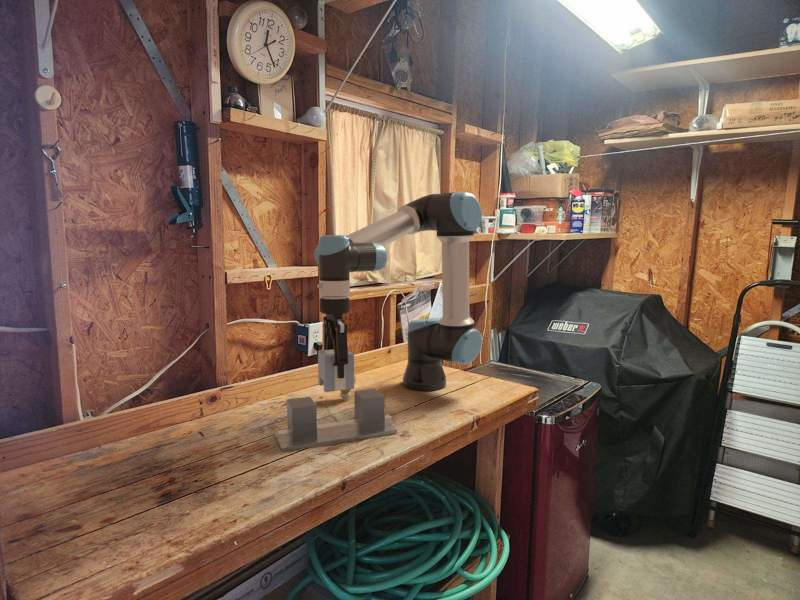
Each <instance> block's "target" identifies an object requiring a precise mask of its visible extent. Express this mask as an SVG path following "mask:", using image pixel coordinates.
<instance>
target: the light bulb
mask: <svg viewBox="0 0 800 600" xmlns="http://www.w3.org/2000/svg"><path fill="white" fill-rule="evenodd" d="M356 380H357V379H356V375H355V373H354V384H355V383H356ZM351 391H352V389H348V390H340V393H339V395H340V398H341V401H342V402H347V401H350V397H351Z"/></svg>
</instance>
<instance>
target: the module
mask: <svg viewBox="0 0 800 600" xmlns="http://www.w3.org/2000/svg"><path fill="white" fill-rule="evenodd" d="M341 360H342V359H341ZM333 363H335V356H334V349H329V350H324V349H320V350H317V369H318V370H317V377H318V379H317V380H318V385H319V386H320V387H321V386H322V387H323V392H325V393H331V392H336V391H335V390H334V366H333V365H332V364H333ZM354 374H355V353H353V352H352V351H350V350H349V349H348V364H346V365H345V377H346V390H348V389H351V390H354V389H355V383H354Z"/></svg>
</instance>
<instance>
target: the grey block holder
mask: <svg viewBox="0 0 800 600" xmlns="http://www.w3.org/2000/svg"><path fill="white" fill-rule="evenodd" d="M353 395H354V396H353V397H354V398H353V399H354V403H353V404H354V409H353V411H354V419H350V420H342V421H335V422H329V423H322V424H318V419H317V417H318V416H317V415H318V414H317V411H318V410H317V404H316V403H315V401H314V400H313V398H312V397H311V396H304V397H296V398H290V399H286V416H287V417H286V419H287V422H286V423H287V424H286V425H287V429H282V430H277V431H276V432H275V433H274V437H275V440H276V442H277V444H278V447H279V450H280V452H281V453H286V452H291V451H298V450H303V449H310V448H317V447H322V446H329V445H334V444H341V443H347V442H355V441H359V440H364V439H370V438H378V437H382V436H390V435H395V434H398V429H397V428H396V427H395V426H394V425H393V417H392V416H391V414H385V413H386V412H385V411H386V409H385V407H386V406H385V405H386V404H385V401H386V399H385V398H386V397H385V395H384V394H383V393H382V392H380V391H379V390H378V389H376V388H369V389H362V390H361V389H359V390H355V391H354V390H353Z"/></svg>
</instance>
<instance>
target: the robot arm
mask: <svg viewBox="0 0 800 600" xmlns="http://www.w3.org/2000/svg"><path fill="white" fill-rule="evenodd" d="M482 218H483V214H482V207H481V204H480V202H479V200H478V199H477V197H476V196H475V195H474V194H472V193H470V192H467V191H466V192H465V191H453V192H445V193H432V194H427V195H423V196H421V197H420V198H417V199H415V200H413V201H411V202H408V203H406V204H404V205H402V206H400V207H399V208H398V210H397V211H396V212H393V214H390V215H387V216H386V217H383V218H381V219H378V220H376V221H374V222H373V223H370V224H369V225H366V226H364V227H362V228H360V229H357V230H355V231H354V232H351V233H348V234H347V235H346V234H345V235H342V234H340V235H337V234H336V235H335V234H334V235H333V234H329V235H328V234H326V235H325V234H324V235H321V236H320V237H319V239H318V244H317V246H316V248H315V249H314V256H313V257H314V260H315V262H316V263H317V266H318V273H319V275H318V276H319V277H318V278H319V279H318V280H319V284H317V288H318V289H319V296H320V298H319V312H320V313H321V314H324V315H326V316H323V317H322V318H323V350H329V349H334V356H335V363H333V364H332V365H333V366H334V390H335V391H334V392H338V391H340V390H346V377H345V365H346V364H348V350H349V349H348V347H349V346H348V324H347V323H345V320H344V317H343V315H344V314H348V313H349V312H350V309H351V308H350V307H351V304H350V298H349V296H350V294H351V286H350V284H351V282H350V280H351V279H350V273H356V272H357V273H358V272H359V273H360V272H363V273H364V272H375V271H380V270H383V269H384V267H385V266H386V264H387V260H388V254H387V250H386V247H384V246H387V245H389V244H391V243H392V242H394V241H396V240H398V239H400V238H402V237H404V236H406V235H412V236H413V235H415V234H417V233H419V232H425V231H436V238H437V239H438V240H440V242H441V272H442V273H441V279H442V280H441V282H442V283H441V284H442V285H441V286H442V287H441V289H442V291H441V293H442V295H441V296H442V316H441V318H439V317H430V318H429V317H428V318H419V319H413V320H410V322H409V323H408V325H407V333H406V334H407V364H406V367H405V371H404V373H403V377H402V385H403V387H404V388H406V389H411V390H414V391H422V392H423V391H424V392H425V391H426V392H427V391H428V392H429V391H437V390H441V389H443V388H446V386H447V376H446V373H445V371H444V367H443V363H442V361H446V362H451V363H454V364H462V365H468V364H470V363H472V362H474V361H475V360H476V359H477V357H478V356H479V354H480V351H481V349H482V346H483V337H482V333H481V332H480V331H479V330H478V329H476V328H475V321H474V319H473V318H472V317H471V316H470V315H471V313H470V241H471V240H472V238H473V237H474V236H475V231H476V230H477V229H478V228H479V227H480V226H481V222H482ZM341 359H342V360H341ZM340 392H341V391H340Z"/></svg>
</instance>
